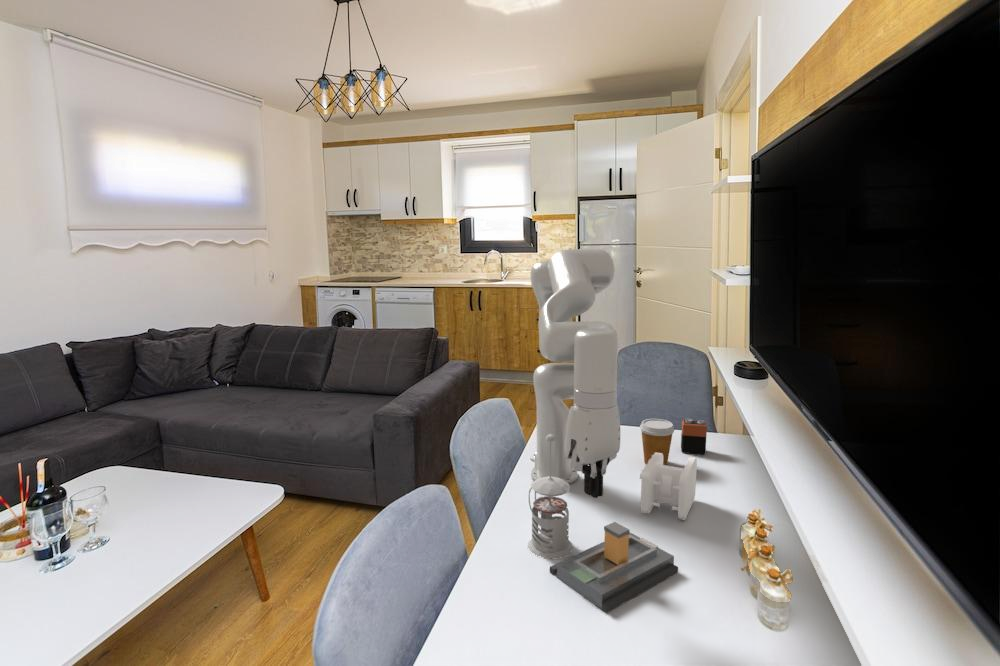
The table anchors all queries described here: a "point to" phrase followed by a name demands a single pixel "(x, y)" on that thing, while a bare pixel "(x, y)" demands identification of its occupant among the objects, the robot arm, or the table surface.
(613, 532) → the lever
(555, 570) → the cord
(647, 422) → the disposable coffee cup
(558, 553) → the french press
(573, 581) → the panel
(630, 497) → the table surface
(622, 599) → the dark grey thin bar
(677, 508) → the cable organizer
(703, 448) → the battery
